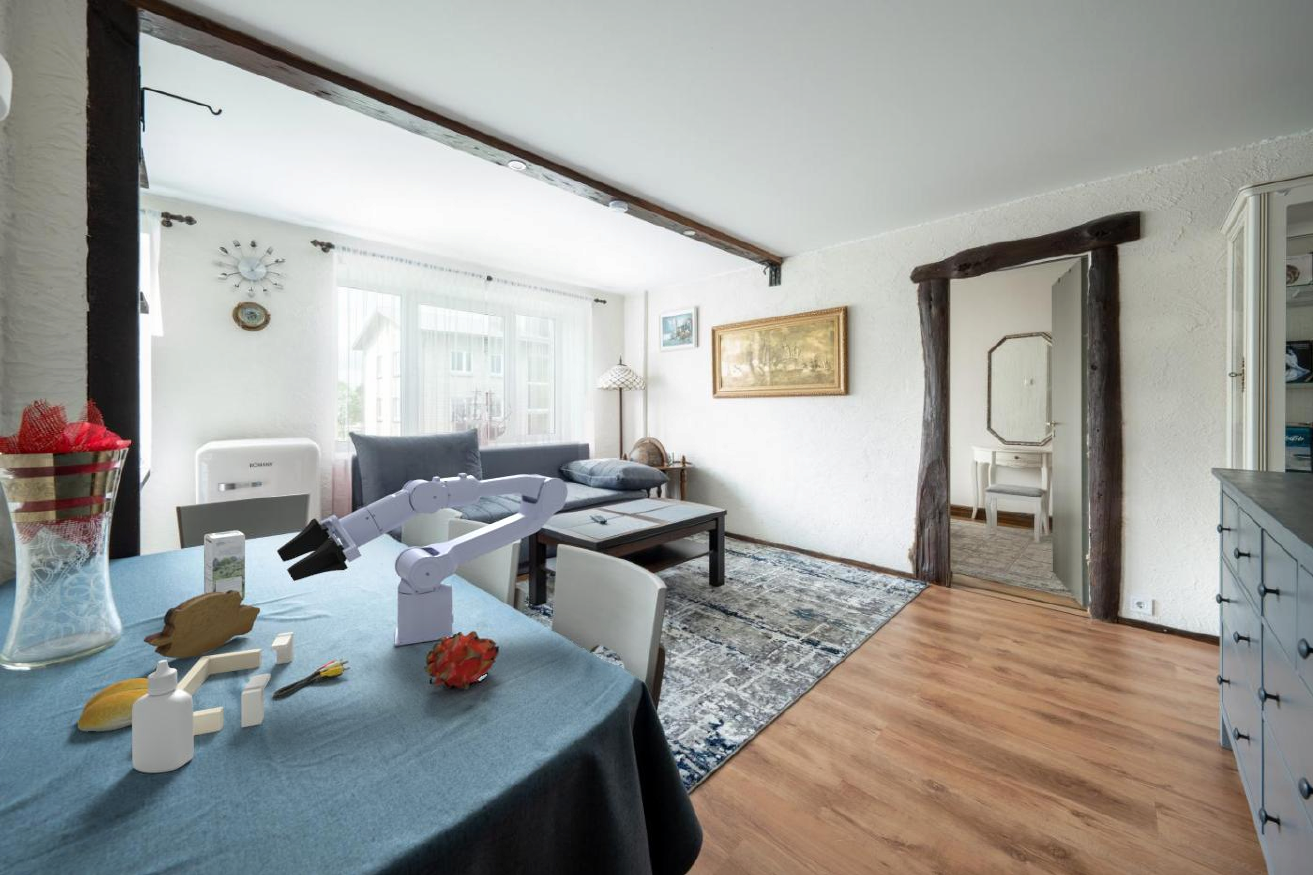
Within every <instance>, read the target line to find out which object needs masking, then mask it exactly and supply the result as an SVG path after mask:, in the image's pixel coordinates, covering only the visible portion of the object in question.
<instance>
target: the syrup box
mask: <svg viewBox="0 0 1313 875" xmlns="http://www.w3.org/2000/svg"><path fill="white" fill-rule="evenodd" d="M203 539H204V540H203V552H204V553H203V558H204V559H203V565H204V568H203V570H204V572H203V574H204V577H203V578H204V580H203V584H204V585H203V587H204V588H203V590H204V591H203V592H204V593H203V594H205V593H209V592H222V593H226V592H227V591H229V590H233V591H238V592H239V593H240V596H241V598H242V600H243V599H245V598H246V580H245V579H246V535H245V534H244V533H243V532H242V531H239V530H229V531H223V532H213V533H207V534H206V533H205V534H204V536H203Z"/></svg>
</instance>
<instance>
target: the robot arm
mask: <svg viewBox="0 0 1313 875" xmlns="http://www.w3.org/2000/svg"><path fill="white" fill-rule="evenodd" d="M568 490H569V489H568V485H567V483H566V482H565V481H564V480H563V479H561V478H558V477H550V476H545V475H541V474H538V473H535V474H527V473H526V474H516V475H515V474H514V475H509V476H501V477H496V478H489V479H483V480H478V479H477V478H476V477H475V476H474V475H468V474H467V473H465V472H461V473H458V474H457V476H452V477H443V478H441V477H440V476H433V477H432V480H431V481H428V480H424V479H416V480H415V479H414V480H409V481H408V482H406V483H405V484H404V485H403V486H402V488H401V490H398V491H396V492H394V493H392V494H388V495H386V496H384V497H383V498H380V499H379V500H378V499H377V500H376V501H374V502H371V503H370V504H368V505H366V506H364V507H361V508H360V509H357V510H356V511H353V512H351V513H350V514H347V515H346V516H343V517H342V518H338V517H337V516H336V514H332V515H331V516H329V517H327V518H325V519H323V520H320V522H319V521H318V520H317V519H316V518H312V519H311V520H310V521H309V522H308V524H307V525H306V526H305V527H304V529H302V530H301V531H300V532H299V533H298V534H297V535H296V536H294V537H293V538H292V539H290V540H289V541H288V542H286V543H285V544H284V545H282V546H281V547H279V548H278V549H277V550H276V552H277V554H278V555H279V557H280V559H281V561H282V562H283V563H284V562H285V563H286V562H288V561H291V560H294V559H296V558H299V557H301V556H303V555H306V554H308V555H306V556H305V557H303V558H302V559H300V560H298V561H297V562H295V563H294V564H292V565H291V566H290V567H288V568H287V569H286V571H287V573H288V574H289V576H290V577H291V579H292V581H294V582H296V581H299V580H303V579H306V578H309V577H312V576H315V575H320V574H324V573H328V572H329V573H330V572H335V571H345V570H348V568H349V567H348V565H347V563H346V561H348V563H351V562H353V561H355V560H356V559H358V558H361V557H362V554H361V552H360V550H359V548H360V547H362V546H364V545H366V544H367V543H370V542H371V541H374V540H376V539H377V538H379V537H381V536H383V535H385V534H387V533H388V532H391V531H392V530H394V529H396V528H398V527H400V526H402V525H403V524H406V523H408V521H411V520H412V519H414V518H416V517H418V516H420V514H424V515H426V514H428V515H429V514H430V515H433V514H436V512H438V511H440V509H441V510H444V509H451V508H456V507H457V508H458V507H459V508H460V507H466V506H471V505H473V506H474V505H475V504H477V502H479V500H480V499H481V498H482V497H493V496H502V495H514V494H518V495H519V496H520V507H519V509H518V512H517V513H515V514H513V515H510V516H507V517H505V518H503V519H501V520H497V521H495V522H493V523H491V524H487V525H485V526H483V527H481V528H478V529H476V530H473V531H471V532H468V533H466V534H464V535H460V536H458V537H455V538H453V539H451V540H448V541H446V542H445V541H444V542H438V543H431V544H428V545H426V546H410V547H407V548H405V549H403V550H402V551H401V552H400V553H399V554H398V555H397V557H396V559H395V562H394V570H395V573H396V575H398V576H399V578H400V582H399V584H398V585H397V626H396V628H395V633H394V645H393V646H395V647H398V646H399V647H400V646H405V645H412V644H419V643H423V642H424V643H426V642H430V641H431V642H432V641H439V640H438V639H440V638H442V637H451V636H452V637H453V624H454V613H453V586H452V584H450V583H449V584H447V583H446V584H445V583H444V584H443V583H442V582H443V581H444V580H445V579H447V578H449V577H451V576H453V575H454V574H455V573H456V570H457V568H458V567H459V566H462V565H465V564H466V563H468V562H471V561H474V560H476V559H478V558H481V557H483V556H485V555H486V554H490V553H491V552H494V551H497V550H498V549H501V548H503V547H506V546H508V545H510V544H513V543H515V542H517V541H519V540H522V539H524V538H525V537H529V536H531V535H533V534H535V533H537V532H538V531H539V532H540V530H541V529H542V528H543V527H544V526H545V525H546V523H547V522H548V521H549V520H550V519H551V518H552V517H553V516H554V514H556V513H557V512H558V511H560V510H563V508H564V507H565V504H566V500H567V497H568V495H569V494H568V493H569V491H568ZM309 553H310V554H309Z"/></svg>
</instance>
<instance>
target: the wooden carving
mask: <svg viewBox="0 0 1313 875" xmlns="http://www.w3.org/2000/svg"><path fill="white" fill-rule="evenodd" d="M242 602H243V599H242V598H241V596H240V593H239V592H238V591H233V590H229V591H227V592H226V593H222V592H209V593H205V594H204V593H202V594H200V595H197V596H193V597H192V598H190V599H186V600H185V601H183V602H181V603H180V604H179V605H176V606H175V607H170V608H169V609H168V610H167V611H166V613H165V615H164V617H163V623H164V626H163V629H162V630H161V631H160V632H156V633H153V634H149V635H147V636H145V638H144V639H143V642H144V643H146V644H148V645H150V646H152V647H156V648H155V649H154V653H156V654H159V655H160V656H162V657H165V658H172V659H178V658H179V659H184V658H185V659H187V658H194V657H198V656H202V655H206V654H207V653H210V652H212V651H215V650H217V649H219V648H220V647H222V646H223V645H225V644H226V643H227V642H229V641H230V640H231V639H233V638H234V637H236V636H244V635H246V634H249V633H250V632H252V631H253V627H254V624H255V621H256V620H257V617H258V615H259V614H260V612H261V608H260V607H258V606H253V605H247V604H244V603H243V604H242Z"/></svg>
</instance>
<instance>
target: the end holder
mask: <svg viewBox="0 0 1313 875" xmlns="http://www.w3.org/2000/svg"><path fill="white" fill-rule="evenodd" d="M262 653H263V652H262V648H255V649H253V648H252V649H249V650H248V649H247V650H242V651H234V652H227V653H226V652H225V653H218V654H213V655H212V654H211V655H204V656H201V657H200V659H199V660H198V661H197V662H195V664H194V665H193V666H192V667H191V669H190V670H188V672H187V673H186V674H185V675H184V677H183V678H182V679H181V680H180V681H179V682H177V687H176V688H178V689H181V690H183V691H185V692H187V693H188V694H190V695H191V697H192V698H193V695H194V694H195V693H196V692H197V691H198V690H199V688H200V687H202V684H203V683H204V682H205V681H206V680H207V678H208V677H209V675H215V674H221V673H228V672H229V673H230V672H233V671H234V672H235V671H241V670H246V669H254V668H259V667H261V665H262ZM223 727H224V706H218V707H213V708H206V709H202V710H196V711H193V733H194V736H198V735H200V736H201V735H204V734H209V733H215V732H220V731H221V730H222V729H223Z"/></svg>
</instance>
